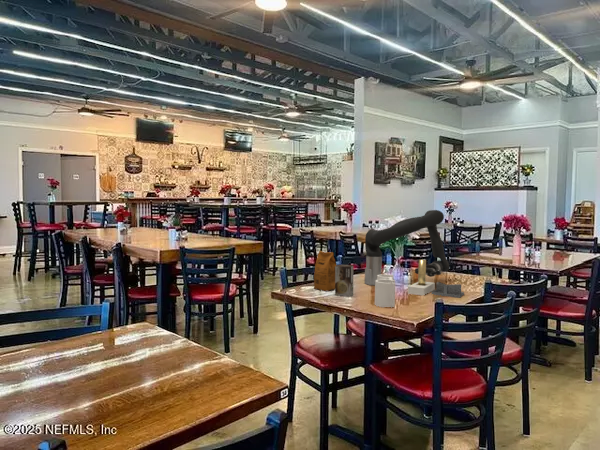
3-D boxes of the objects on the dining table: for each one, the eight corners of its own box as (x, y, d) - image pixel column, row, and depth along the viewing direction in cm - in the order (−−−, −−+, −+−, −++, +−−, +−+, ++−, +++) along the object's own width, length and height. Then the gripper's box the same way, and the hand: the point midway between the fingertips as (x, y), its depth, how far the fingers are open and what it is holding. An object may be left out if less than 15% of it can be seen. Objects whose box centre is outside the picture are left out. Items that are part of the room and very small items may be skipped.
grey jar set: (375, 296, 246) (376, 274, 246) (394, 297, 245) (394, 274, 244) (374, 307, 222) (374, 282, 221) (394, 308, 220) (395, 283, 219)
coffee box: (353, 294, 250) (354, 265, 249) (351, 296, 244) (351, 266, 243) (337, 292, 253) (337, 264, 252) (334, 295, 247) (334, 265, 246)
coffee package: (323, 286, 271) (323, 249, 270) (338, 289, 262) (339, 251, 260) (311, 288, 264) (311, 250, 263) (326, 292, 255) (326, 253, 254)
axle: (420, 292, 257) (421, 260, 256) (416, 291, 261) (417, 259, 260) (426, 292, 258) (427, 260, 257) (422, 290, 262) (423, 259, 261)
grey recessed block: (423, 295, 249) (423, 288, 248) (407, 293, 254) (408, 286, 253) (434, 289, 265) (434, 282, 265) (419, 287, 270) (419, 281, 270)
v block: (459, 297, 244) (459, 286, 243) (431, 294, 252) (431, 283, 252) (463, 294, 252) (464, 283, 252) (436, 291, 260) (437, 280, 260)
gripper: (421, 262, 280) (412, 265, 266) (444, 264, 272) (436, 267, 258) (420, 274, 280) (412, 278, 266) (444, 276, 272) (436, 280, 259)
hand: (424, 273), depth 262 cm, fingers open, 8 cm apart
